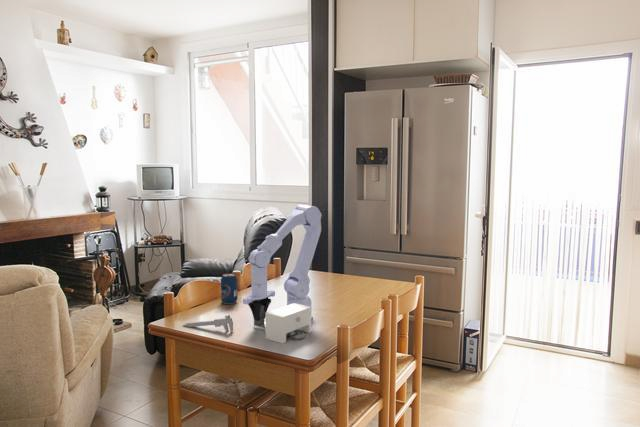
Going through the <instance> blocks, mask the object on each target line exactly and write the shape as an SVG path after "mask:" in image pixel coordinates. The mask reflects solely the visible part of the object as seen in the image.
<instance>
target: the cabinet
mask: <svg viewBox="0 0 640 427" xmlns="http://www.w3.org/2000/svg"><path fill="white" fill-rule="evenodd" d="M311 316H312V306H311V307H309V306H305V305H301V304H297V303H293V304H290V305H287V304H286V305H284V306H281V307H278V308H274V309H272V310H269V311H267V312H266V316H265V322H266V331H265V339H267V340H271V341H273V342H277V343H280V344H285V343H286V342H287V337H286V333H289V332H291V331H294V330H295V331H301V332H304V333H308V334H309V333H312V318H311Z"/></svg>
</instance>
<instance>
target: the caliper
mask: <svg viewBox="0 0 640 427" xmlns="http://www.w3.org/2000/svg"><path fill="white" fill-rule="evenodd" d="M186 326H188V327H187V328H195V327H206V326H214V327H215V328H218V327H219V328H220V327H223V329H224V330H225V332H226V333H228V332H229V331H230V333H232V332H233V331H234V321H233V318H232V317H231V315H230V314H229V315H227V314H225V316H224V318H223V317H222V318H215V319H213V320H205V321H204V320H203V321H191V322H185V324H183V325H182V327H186Z"/></svg>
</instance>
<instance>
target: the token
mask: <svg viewBox="0 0 640 427" xmlns="http://www.w3.org/2000/svg"><path fill="white" fill-rule="evenodd" d="M289 336H290V339H291V340H294V341H302V340H304V339H306V332H304V331H301V330H295V332H292V333H291V334H290V335H289Z"/></svg>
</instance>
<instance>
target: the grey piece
mask: <svg viewBox="0 0 640 427" xmlns="http://www.w3.org/2000/svg"><path fill="white" fill-rule="evenodd" d="M253 327H254V328H255V329H257V330H260V331H263V332H266V321H265V319H264V305H263V304H262V305H261V309H260V319H259V321H256V320H254V319H253ZM295 331H296V330H294V331H291V332H289V333H286V338H287V337H289V336H290V334H291V333H292V332H295Z"/></svg>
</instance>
